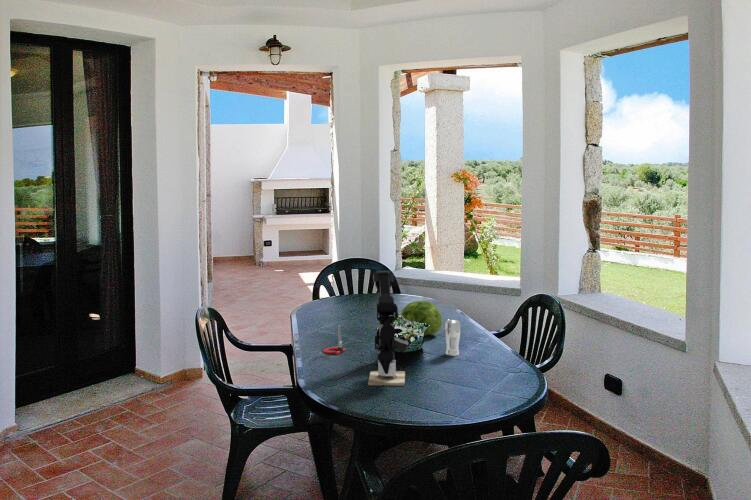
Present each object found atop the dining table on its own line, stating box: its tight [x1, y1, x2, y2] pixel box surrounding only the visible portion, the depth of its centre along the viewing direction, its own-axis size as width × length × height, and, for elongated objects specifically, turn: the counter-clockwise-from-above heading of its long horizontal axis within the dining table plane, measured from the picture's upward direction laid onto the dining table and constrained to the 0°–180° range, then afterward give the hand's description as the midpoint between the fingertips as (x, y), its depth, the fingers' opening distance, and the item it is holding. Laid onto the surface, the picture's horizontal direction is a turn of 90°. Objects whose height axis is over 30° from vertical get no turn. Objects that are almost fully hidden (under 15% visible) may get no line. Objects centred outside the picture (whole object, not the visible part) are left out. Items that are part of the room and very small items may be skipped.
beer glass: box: [444, 319, 461, 357], centre depth 272 cm, size 7×7×15 cm
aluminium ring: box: [377, 359, 397, 376], centre depth 240 cm, size 7×7×5 cm
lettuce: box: [399, 300, 443, 337], centre depth 305 cm, size 18×23×19 cm
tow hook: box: [323, 324, 347, 355], centre depth 278 cm, size 8×13×9 cm
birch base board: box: [367, 370, 406, 387], centre depth 241 cm, size 14×14×1 cm
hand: (387, 370), depth 240 cm, fingers closed on aluminium ring, 7 cm apart
